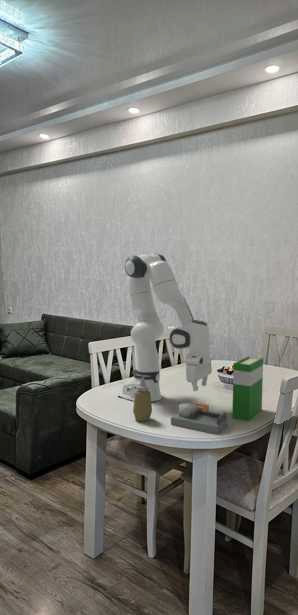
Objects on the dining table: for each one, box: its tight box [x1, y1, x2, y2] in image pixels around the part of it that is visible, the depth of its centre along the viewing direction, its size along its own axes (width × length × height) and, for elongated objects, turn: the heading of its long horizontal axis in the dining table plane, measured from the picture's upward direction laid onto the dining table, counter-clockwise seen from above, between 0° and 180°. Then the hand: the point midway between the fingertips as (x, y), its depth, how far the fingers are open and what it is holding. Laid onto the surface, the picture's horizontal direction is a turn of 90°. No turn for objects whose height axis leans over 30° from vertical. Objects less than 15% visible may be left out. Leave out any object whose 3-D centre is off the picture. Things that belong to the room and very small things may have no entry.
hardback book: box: [231, 356, 264, 422], centre depth 179 cm, size 18×7×24 cm, turn 147°
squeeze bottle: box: [132, 378, 153, 422], centre depth 171 cm, size 8×8×18 cm
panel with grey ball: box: [170, 402, 229, 435], centre depth 165 cm, size 20×12×7 cm, turn 60°
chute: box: [191, 401, 210, 412], centre depth 180 cm, size 8×5×4 cm, turn 60°
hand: (199, 388), depth 179 cm, fingers open, 8 cm apart
